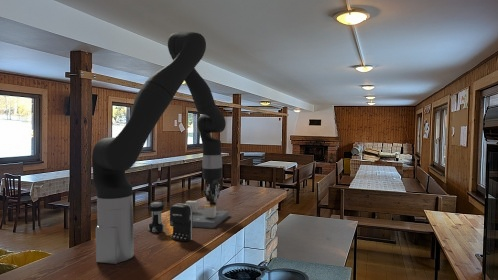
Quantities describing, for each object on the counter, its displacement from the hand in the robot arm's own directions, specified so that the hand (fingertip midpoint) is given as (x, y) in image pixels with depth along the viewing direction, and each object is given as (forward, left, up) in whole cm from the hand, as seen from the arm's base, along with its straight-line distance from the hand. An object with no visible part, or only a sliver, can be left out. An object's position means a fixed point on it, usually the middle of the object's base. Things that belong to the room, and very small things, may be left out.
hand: (213, 211), depth 137 cm
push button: (-18, +15, -4) cm, 23 cm away
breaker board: (-1, +5, -4) cm, 6 cm away
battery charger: (-25, +2, -4) cm, 25 cm away
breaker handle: (-4, 0, -1) cm, 4 cm away
